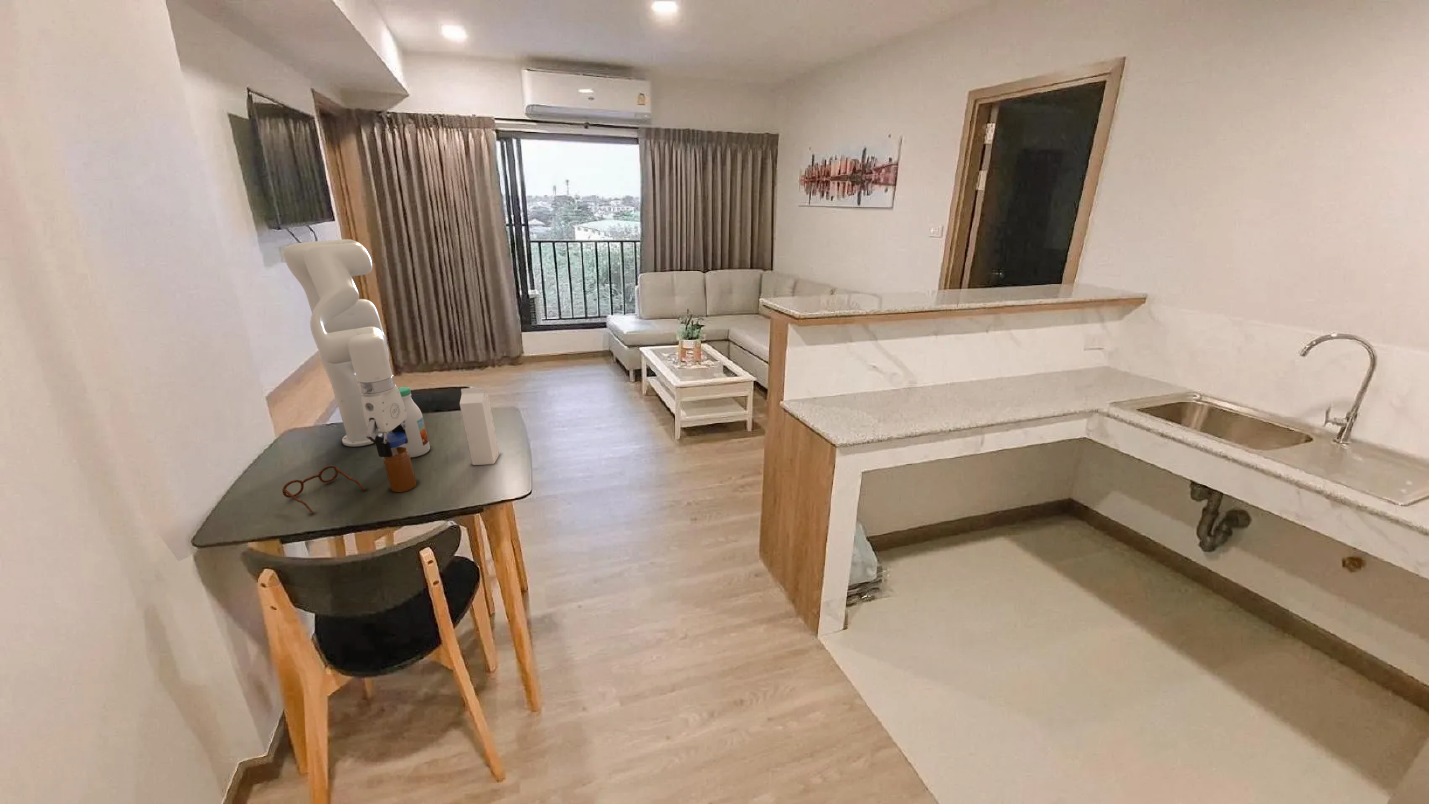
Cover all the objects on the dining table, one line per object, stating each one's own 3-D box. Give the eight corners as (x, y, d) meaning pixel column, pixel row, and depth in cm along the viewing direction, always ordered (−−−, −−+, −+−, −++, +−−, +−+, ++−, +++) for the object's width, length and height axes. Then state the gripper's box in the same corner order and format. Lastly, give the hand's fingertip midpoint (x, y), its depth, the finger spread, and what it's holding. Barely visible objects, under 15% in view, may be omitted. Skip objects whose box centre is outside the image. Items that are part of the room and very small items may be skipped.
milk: (478, 455, 162) (464, 384, 154) (500, 454, 162) (486, 383, 154) (472, 465, 156) (456, 392, 148) (494, 464, 157) (480, 391, 148)
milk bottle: (418, 459, 160) (402, 394, 153) (395, 457, 162) (378, 393, 154) (436, 447, 167) (421, 385, 160) (413, 445, 169) (398, 383, 161)
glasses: (339, 478, 151) (333, 462, 149) (366, 490, 145) (361, 473, 143) (285, 501, 140) (278, 484, 139) (311, 515, 134) (305, 497, 132)
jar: (387, 487, 146) (377, 453, 142) (409, 478, 150) (400, 444, 146) (398, 494, 142) (388, 459, 139) (421, 484, 147) (412, 450, 143)
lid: (398, 449, 139) (396, 443, 138) (371, 448, 139) (370, 443, 138) (412, 437, 145) (410, 432, 144) (386, 436, 145) (385, 431, 144)
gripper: (371, 398, 128) (389, 466, 135) (410, 372, 144) (425, 434, 151) (339, 398, 128) (359, 466, 135) (382, 372, 144) (398, 434, 151)
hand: (394, 449), depth 143 cm, fingers closed on lid, 6 cm apart
